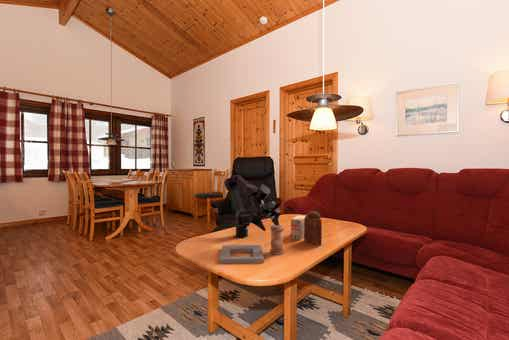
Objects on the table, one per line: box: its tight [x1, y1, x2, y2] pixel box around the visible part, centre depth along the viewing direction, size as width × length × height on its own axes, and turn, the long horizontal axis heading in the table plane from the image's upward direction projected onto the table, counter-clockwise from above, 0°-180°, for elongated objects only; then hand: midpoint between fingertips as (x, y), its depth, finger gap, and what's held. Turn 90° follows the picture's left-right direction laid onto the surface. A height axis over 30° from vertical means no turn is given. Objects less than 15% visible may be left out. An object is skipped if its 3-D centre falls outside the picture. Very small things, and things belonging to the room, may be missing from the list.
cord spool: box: [269, 224, 285, 256], centre depth 127 cm, size 7×7×13 cm
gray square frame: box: [218, 244, 265, 264], centre depth 123 cm, size 19×20×2 cm
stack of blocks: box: [290, 214, 306, 241], centre depth 158 cm, size 21×6×12 cm, turn 150°
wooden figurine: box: [303, 210, 323, 246], centre depth 144 cm, size 12×6×18 cm, turn 46°
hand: (272, 229), depth 130 cm, fingers open, 9 cm apart
